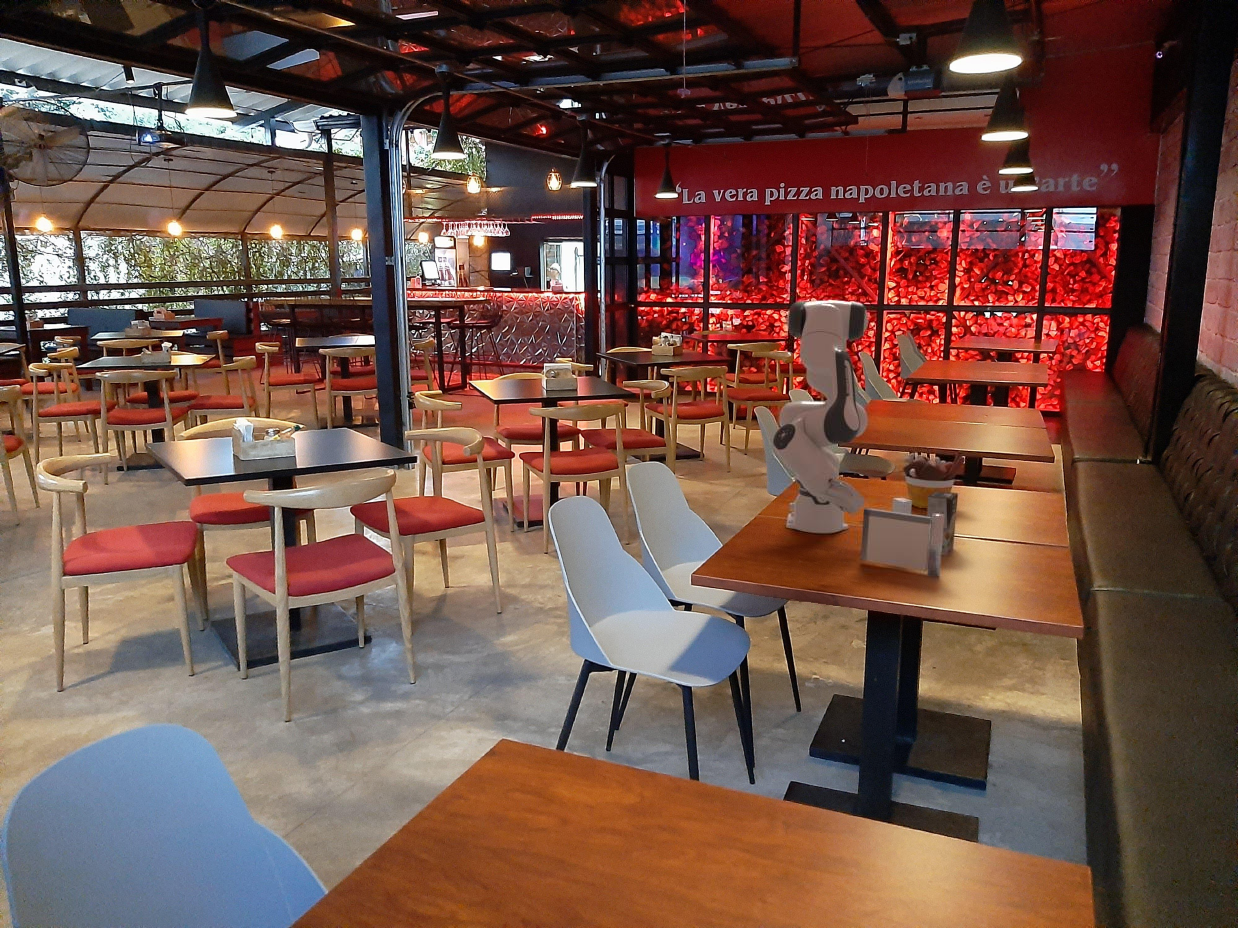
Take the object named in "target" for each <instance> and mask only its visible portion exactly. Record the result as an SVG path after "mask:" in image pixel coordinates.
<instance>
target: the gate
mask: <svg viewBox="0 0 1238 928" xmlns="http://www.w3.org/2000/svg"><path fill="white" fill-rule="evenodd" d="M862 516H863V518H862V535H861V549H860V550H861V551H860V561H864V562H869V563H876V564H882V565H885V566H886V565H887V566H892V567H898V568H903V569H910V570H917V571H920V572H927V570H928V557H929V541H930V528H931V517H927V515H926V516H925V515H918V514H912V513H911V514H905V513H898V512H892V511H890V510H882V509H877V508H869V507H865V508H863V515H862Z"/></svg>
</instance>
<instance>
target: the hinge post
mask: <svg viewBox="0 0 1238 928" xmlns="http://www.w3.org/2000/svg"><path fill="white" fill-rule="evenodd" d="M943 526H944V515H943V514H936V513H935V514H932V519H931V532H930V544H929V554H928V566H927V571H926V575H927V577H930V578H940V577H941V575H940V574H941V573H940V572H941V563H942V555H941V551H942V539H943Z"/></svg>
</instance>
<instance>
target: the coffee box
mask: <svg viewBox="0 0 1238 928" xmlns="http://www.w3.org/2000/svg"><path fill="white" fill-rule="evenodd" d="M958 497H959V492H958V493H957V492H952V491H951V492H940V491H935V492H934V493H932V494H931V495H929V496H928V509H926V510H927V513H926V516H927V517H931V519H932V514H935V513H936V514H943V515H944V526H943V539H942V551H941V556H947V555H948V554H949V553H950V552H951V551H952V550H953V549H954V544H955V532H956V521H957V509H958V500H959V499H958ZM930 532H931V528H930ZM929 544H930V541H929Z"/></svg>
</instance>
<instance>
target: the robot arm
mask: <svg viewBox="0 0 1238 928" xmlns="http://www.w3.org/2000/svg"><path fill="white" fill-rule="evenodd" d="M868 325H869V315H868V311H867V309H866V306H865V305H864V304H863V303H861V302H857V301H843V300H836V299H835V300H833V299H828V300H814V301H813V300H811V301H810V300H809V301H806V300H800V301H796V302H794V303H793V304H792V305H791V306H790V308H789V311H788V312H787V316H786V326H787V329H788V332H789V334H790V335H791V336H792V337H794V338H796V339H797V338H798V339H800V347H799V358H800V361H801V363H802V364H803V366H804V368H806V378H805V379H806V382H807V384H808V385H809V386H810V387H811V388H812V389H813V390H815V391H816V392H820V393H821V394H822V395H824V396H825V397H826V400H823V401H821V400H820V401H819V400H798V401H792V402H791V401H790V402H787V403H786V404H784V406H783V407H782V408H781V409H780V411H779V415H778V416H779V417H778V423H779V426H780V427H779V429H777V431H776V432H775V434H774V436H773V438H772V439H773V440H772V445H773V448H774V450H775V453H776V454H777V455H778V457H779V459H780V460H781V461H782V462H783V463H784V465H786V467H787V468H788V469H789V470H790V471H792V472H793V473H795V475H794V477H793V480H794V481H795V483H797V484H798V485H799V486H798V495H797V496H796V499H795V500H794V502H791V503H789V511H791V513H788V515H787V518H786V524H785V525H786V526H785V527H786V528H787V529H794V530H798V531H801V532H807V533H812V534H832V533H834V534H835V533H837V532H840V531H843V530H847V529H849V524H847V523H845V522H844V513H845V512H847V513H848V514H849V515H852V516H854V515H855V514H856V513H857V512H859V511H860V510H862V508H863V507H864V506H865V504H866V500H865V498H864V497H863V496H862V495H861V494H860V493H859V492H858V491H857V489H855V488H854V487H853V486H852V485H851V484H850V483H848V482H846V481H843V480H841V479H839V474H840V459H839V457H838V455H837V453H835V452H834V451H832V450H830V449H828V448H825V447H829V446H832V445H839V444H840V445H841V444H847V443H851V442H852V441H854V440H855V438H858V437H860V436H861V435H863V433H865V430H866V429H867V427H868V422H869V421H868V420H869V419H868V418H869V417H868V414H867V411H866V410H865V408H864V407H863V406H862V405H861V404H860V403H858V402H857V400H856V399H857V398H856V388H855V387H856V385H855V375H854V373H855V372H854V367H853V366H854V364H853V362H852V359H851V357H850V354H848V352H847V340H848V341H849V342H852V341H855V340H859V339H860V338H862V337H863V336H864V334H865V332H866V330H867V328H868Z"/></svg>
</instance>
